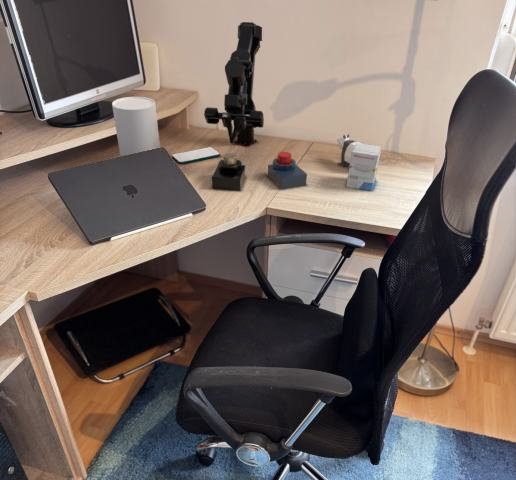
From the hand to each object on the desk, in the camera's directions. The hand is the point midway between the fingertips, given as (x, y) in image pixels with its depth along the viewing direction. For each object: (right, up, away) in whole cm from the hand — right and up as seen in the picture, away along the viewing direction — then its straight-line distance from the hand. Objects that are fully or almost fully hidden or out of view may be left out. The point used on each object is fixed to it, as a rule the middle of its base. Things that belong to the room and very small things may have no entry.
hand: (231, 143), depth 160 cm
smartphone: (-14, +3, +19) cm, 23 cm away
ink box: (+43, -11, +6) cm, 45 cm away
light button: (-1, -6, +2) cm, 6 cm away
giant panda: (+41, -2, +17) cm, 44 cm away
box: (+18, -10, +6) cm, 21 cm away
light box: (-1, -12, +3) cm, 12 cm away
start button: (+17, -5, +4) cm, 18 cm away
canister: (-32, -3, +12) cm, 34 cm away
